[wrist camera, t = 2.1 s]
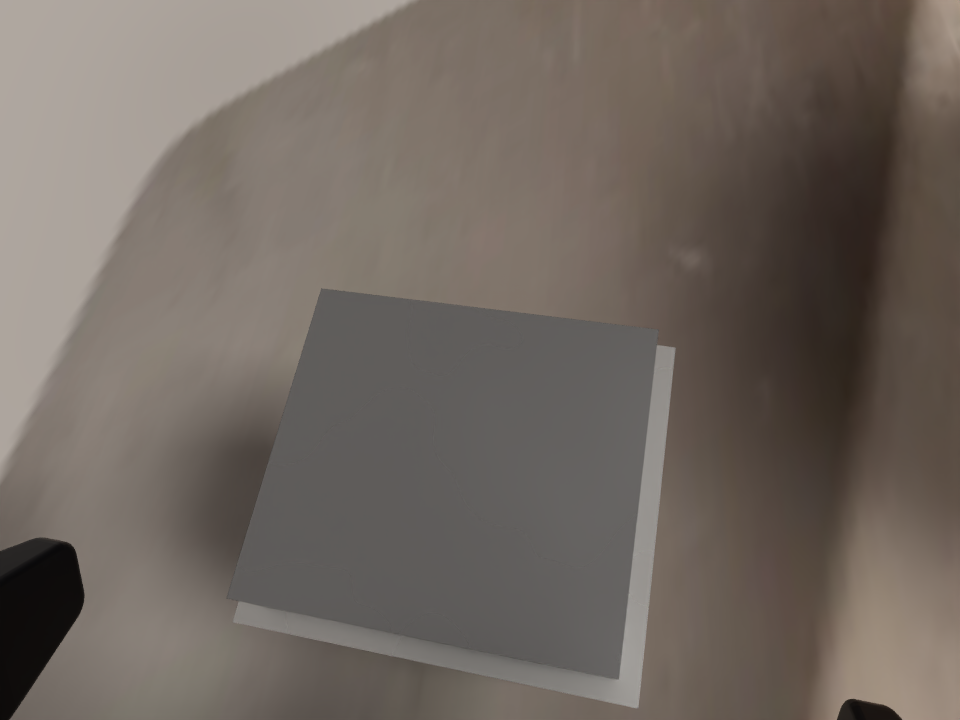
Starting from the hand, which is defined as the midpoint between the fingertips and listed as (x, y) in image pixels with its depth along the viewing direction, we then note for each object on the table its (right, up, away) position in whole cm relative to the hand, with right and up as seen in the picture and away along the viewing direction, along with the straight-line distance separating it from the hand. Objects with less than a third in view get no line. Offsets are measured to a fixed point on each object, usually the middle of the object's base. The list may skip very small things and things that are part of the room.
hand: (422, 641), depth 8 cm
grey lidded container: (+1, -2, +9) cm, 10 cm away
